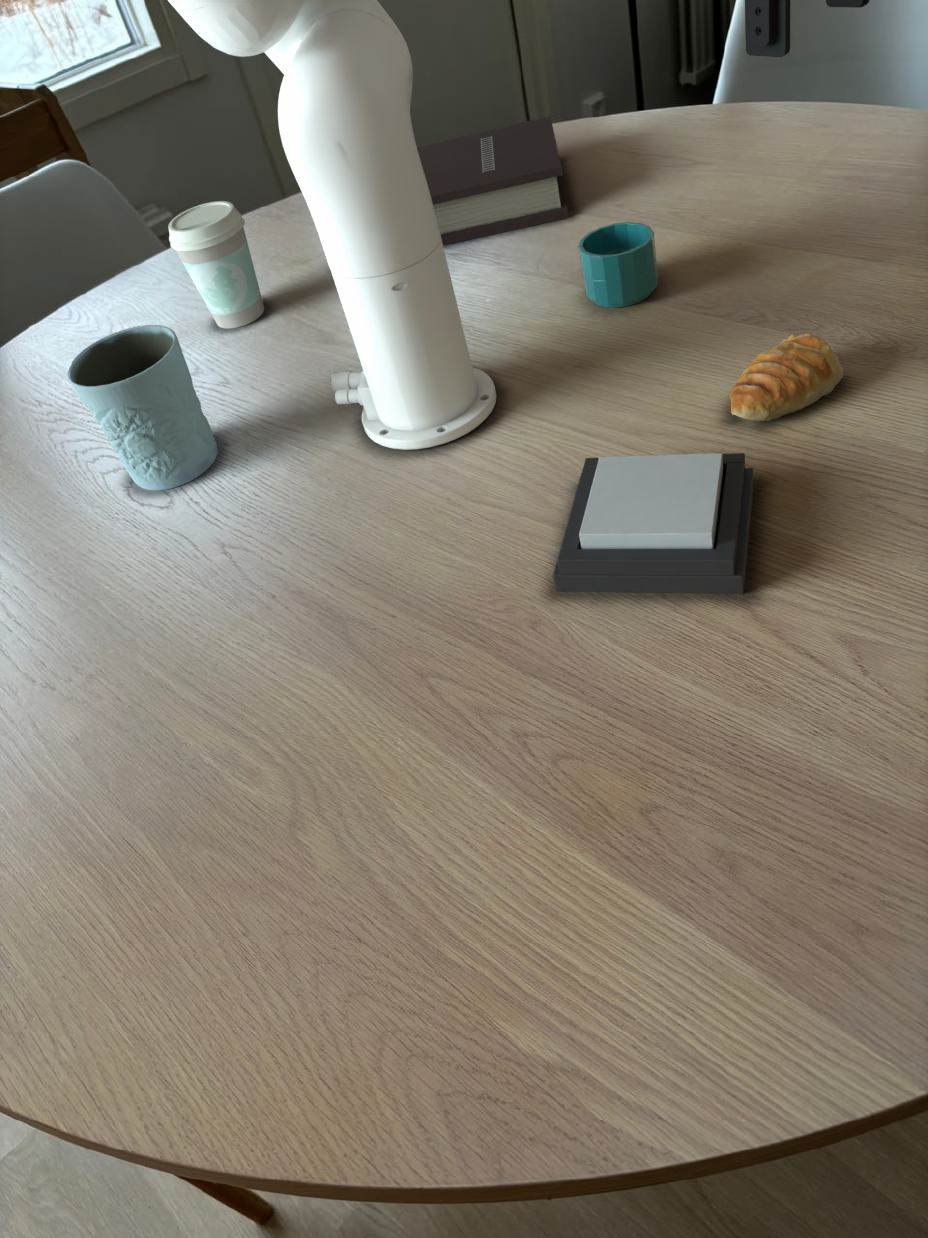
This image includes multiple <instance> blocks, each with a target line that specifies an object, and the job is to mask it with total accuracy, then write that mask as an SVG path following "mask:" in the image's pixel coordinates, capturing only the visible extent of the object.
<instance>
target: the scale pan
mask: <svg viewBox="0 0 928 1238" xmlns="http://www.w3.org/2000/svg"><path fill="white" fill-rule="evenodd" d="M722 454H723V452H722V453H721V452H715V453H714V452H712V453H709V452H708V453H679V454H678V453H677V454H652V455H651V454H648V455H619V456H618V455H617V456H616V455H615V456H599V457H598V458H599V461H598V465H597V468H596V472H595V476H594V480H593V484H592V487H591V491H590V495H589V499H588V503H587V507H586V510H585V514H584V518H583V522H582V526H581V529H580V533H579V536H580V542H581V547H582V549H714V541H715V533H716V525H717V517H718V509H719V501H720V492H721V484H722V476H723V455H722Z"/></svg>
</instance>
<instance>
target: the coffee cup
mask: <svg viewBox="0 0 928 1238" xmlns="http://www.w3.org/2000/svg"><path fill="white" fill-rule="evenodd" d="M245 224H246V221H245V219H244V218H243V215H242V213H241V212H239V211H238V210H237V208H236V206H235V205H234V204H233V203H232V202H230V201H225V200H217V201H216V200H215V201H210V202H205V203H201V204H199V205H195V206H192V207H191V208H187V209H186V210H184V211H182V212H180V213H179V214H177V215H176V216H175V217H173V218H172V219H171V220H170V222H169V223H168V233H169V236H168V241H169V243H170V244H169V245H170V248H171V249H172V250H174V251H175V252H176V253H177V255H178V257H179V259H180V260H181V262H182V264H183V267H184V268H185V270H186V272H187V273H188V275H189V277H190V279H191V281H192V282H193V284H194V286H195V288H196V290H197V291H198V293H199V295H200V296H201V299H202V300H203V302H204V304H205V306H206V307H207V309H208V311H209V312H210V315H211V316H212V318H213V320H214V321H215V323H216V325H217V326H218V327H219V328H222V329H226V330H227V329H237V328H240V327H244V326H247V325H249V324H252V323H253V322H255V321H256V320H258V319H259V318H260V317H261V316H262V315H263V313H264V312H265V306H264V301H263V298H262V294H261V289H260V285H259V281H258V278H257V274H256V271H255V266H254V262H253V258H252V254H251V250H250V247H249V243H248V239H247V235H246V231H245V228H244V226H245Z"/></svg>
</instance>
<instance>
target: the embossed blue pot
mask: <svg viewBox="0 0 928 1238" xmlns="http://www.w3.org/2000/svg"><path fill="white" fill-rule="evenodd" d="M66 376H67V379H68V380H67V381H68V382H69V383H70V385H71V387H72V388H73V389H74V391H75V392H76V394H77V395H78V396H79V398H80V399H81V401H82V403H83V404H84V405H85V406H86V407H87V408H88V411H89V412H90V414H91V417H92V418H93V419H94V420H95V421H96V422H97V423H98V424H99V425H100V426H101V430H102V432H103V434H104V436H105V439H106V440H108V441H109V444H110V446H111V448H112V449H113V450H114V452H115V453H116V454H117V456H118V459H119V461H120V462H121V464H122V465H123V468H124V469H125V470H126V472H127V473H128V475H129V476H130V478H131V479H132V481H133V482H134V484H136V485H137V486H138V487H140V488H141V489H143V490H146V491H147V490H148V491H165V490H170V489H174V488H177V487H180V486H183V485H186V484H187V483H188V484H189V483H190V482H192V481H193V480H195V479H197V478H198V477H200V476H201V475H203V474H204V473H206V471H207V470H209V468H210V467H211V466H212V465H213V464H214V463H215V461H216V459H217V457H218V453H219V451H218V445H217V442H216V439H215V436H214V434H213V431H212V429H211V426H210V423H209V421H208V418H207V417H206V416H205V414H204V412H203V409H202V404H201V400H200V399H199V396H197V392H196V390H195V387H194V384H193V377H192V375H191V373H190V369H189V366H188V363H187V361H186V358H185V356H184V353H183V350H182V347H181V345H180V341H179V339H178V336H177V334H176V333H175V330H173V329H172V328H170V327H168V326H165V325H160V324H145V325H138V326H131V327H128V328H126V329H122V330H118V331H116V332H113V333H111V334H109V335H107V336H104V337H102V338H100V339H98V340H96V341H95V342H93V343H92V344H89V345H88V346H87V347H85V348H84V349H83V350H81V352H79V353H78V354H77V355H76V356H75V357H74V358H73V360H72V361H71V364H70V365H69V368H68V369H67V374H66Z"/></svg>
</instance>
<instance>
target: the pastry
mask: <svg viewBox="0 0 928 1238" xmlns="http://www.w3.org/2000/svg"><path fill="white" fill-rule="evenodd" d="M844 374H845V373H844V368H843V366H842V365H841V363H840V360H839V357H838V356H837V355H836V354H835V353H834V352H833V349H832V346H831V344H830V343H829V342H828V341H826V340H825V339H823V338H822V337H820V336H817V335H815V334H812V333H804V334H794V333H793V334H790V335H789V337H788V338H785V339H783V340H782V341H781V342H780V343H778V344H777V345H775V346H773V347H770V348H768V349H766V350H765V351H763V352H761V353H759V354H758V355H756V357H755V358H754V359H753V360H752V362H750V363H749V365H748V366H747V367H746V368H745V369H744V370H743V372H742V373H741V376H740V377H739V378H738V379H737V382H736V383H735V385H734V387H733V389H732V390H731V392H730V393H729V400H730V413H731V415H734V416H736V417H739V418H740V419H744V420H748V421H749V420H751V421H757V422H766V421H767V422H770V421H772V420H778V419H780V418H781V417H782V416H785V415H789V414H794V413H797V412H798V411H801V410H803V409H804V408H806V407H809V406H811V405H812V404H814V403H815V402H817V401H819V399H820V398H822V397H823V396H827V395H828V394H829V395H830V393H832V392H833V391H834V390H835V387H836V386H837V385H839V383H840V381H841V380H842V379H843V378H844Z"/></svg>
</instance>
